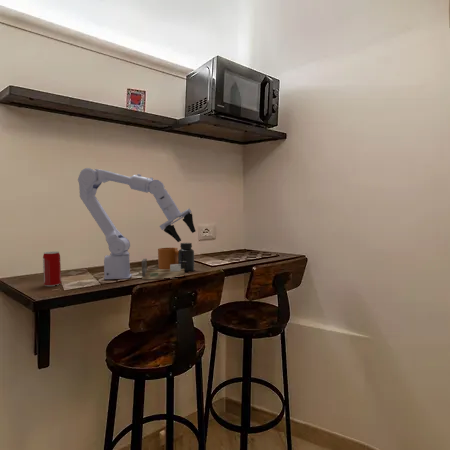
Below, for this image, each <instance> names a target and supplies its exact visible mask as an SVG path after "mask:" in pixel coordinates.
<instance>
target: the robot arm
mask: <svg viewBox="0 0 450 450" xmlns="http://www.w3.org/2000/svg"><path fill="white" fill-rule="evenodd" d="M77 181H78V185H79V187H78V190H79V197H80V200H81V201H82V202H83V205H85V208H87V210H88V211H89V214H90V215H91V216H92V218H93V220H94V221H95V222H96V224H97V226H98V227H99V228H100V230H101V232H102V233H103V234H104V236H105V241H106V243H107V244H108V249H109V252H110V254H109V255H107V254H106V255H105V256H104V259H103V269H104V270H103V271H104V272H103V273H104V274H103V275H104V277H103V279H104V280H117V279H118V280H119V279H120V280H121V279H123V280H124V279H130V278H131V277H132V275H133V273H131V265H130V264H131V263H130V261H131V260H130V252H129V249H130V247H131V243H130V240H129V239H128V238H127V237H125V236H124V235H123V234H122V232H121V231H119V230H118V229H117V227H116V226H115V224H114V222H113V221H112V220H111V218H110V216H109V214H108V213H107V212H106V210H105V208H104V207H103V206H102V204H101V202H100V201H99V200H98V198H97V197H96V194H97V191H98V189H99V187H100V186H101V185H102V184H103V183H104V184H105V183H107V182H115V183H119V184H122V185H128V187H129V188H130V189H131V190H134V191H139V192H143V193H147V194H149V193H150V194H151V195H153V197H154V199H155V200H156V203H157V205H158V206H159V208H160V210H161V211H162V213H163V214H164V216H165V217H166V219H167V221H165V222H162V224H160V225H159V228H160V229H161V230H162V231H164V232H165V233H166V234H168V235H170V236H171V237H172V238H173V239H175V240H176V242H177V243H181V241H182V238H181V237H180V236H179V234H178V232H177V230H176V228H175V225H174V224H175V223H176V222H178V221H180V220H181V219H182V221H183V222H184V223H185V225H186V226H187V228H188V229H189V230H190V232H191V233H192V234H193V233H195V232H196V231H197V230H196V229H195V224H194V219H193V217H194V216H193V213H192V210H191V209H190V207H188V208H187V209H186V210H185V209H184V211H180V210H179V208H178V206H177V204H176V203H175V201H174V199H173V198H172V197H171V194H170V193H169V192H168V190H167V189H166V188H165V185H164V183H163V182H162V181H160V180H159V179H154V178H153V177H150V178H149V177H147V176H146V177H145V176H142V174H140V173H137V174H132V176H127V175H124V174H121V173H116V172H113V171H110V170H104V169H100V168H99V169H98V168H94V169H93V168H90V167H86V168H83V169H82V170H81V171H80V173H79V174H78V178H77Z"/></svg>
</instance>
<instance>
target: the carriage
mask: <svg viewBox="0 0 450 450" xmlns="http://www.w3.org/2000/svg"><path fill="white" fill-rule="evenodd" d="M170 272H181V264H170Z"/></svg>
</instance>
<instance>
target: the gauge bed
mask: <svg viewBox="0 0 450 450" xmlns="http://www.w3.org/2000/svg"><path fill="white" fill-rule="evenodd" d="M147 261H148V259H147V258H143V259H142V260H141V280H165V279H164V278H168V277H176V276H180V275H184V274H185V273H186V272H185V271H184V269H181V272H170V269H148V267H147V266H148V265H147V264H148V263H147Z"/></svg>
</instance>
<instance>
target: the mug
mask: <svg viewBox="0 0 450 450" xmlns="http://www.w3.org/2000/svg"><path fill="white" fill-rule="evenodd" d="M178 251H179V250H178V247H160V248H158V249H157V261H158V264H157V265H158V270H165V269H170V264H178Z"/></svg>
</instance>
